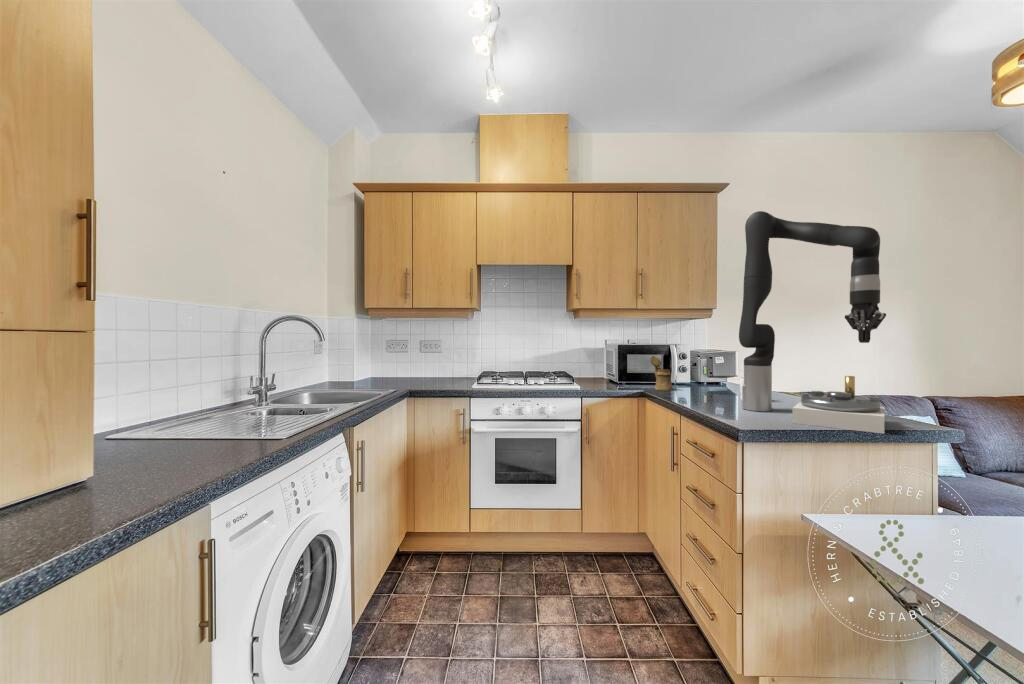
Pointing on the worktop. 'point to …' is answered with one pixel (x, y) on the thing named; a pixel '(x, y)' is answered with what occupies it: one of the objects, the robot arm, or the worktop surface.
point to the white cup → (741, 385)
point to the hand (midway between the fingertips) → (864, 342)
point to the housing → (840, 418)
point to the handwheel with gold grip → (841, 399)
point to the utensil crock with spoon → (661, 376)
